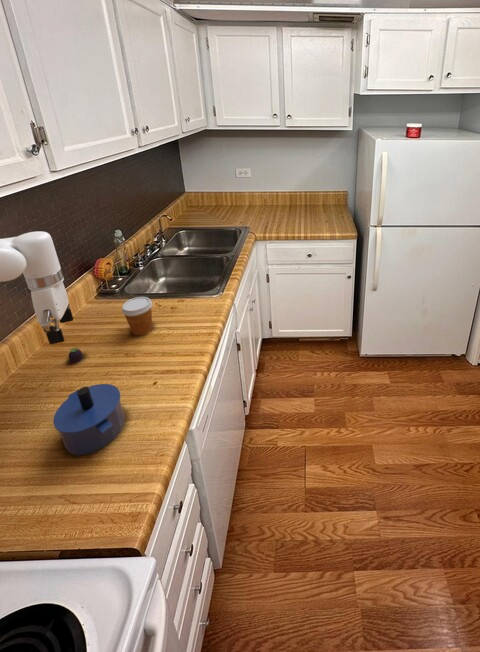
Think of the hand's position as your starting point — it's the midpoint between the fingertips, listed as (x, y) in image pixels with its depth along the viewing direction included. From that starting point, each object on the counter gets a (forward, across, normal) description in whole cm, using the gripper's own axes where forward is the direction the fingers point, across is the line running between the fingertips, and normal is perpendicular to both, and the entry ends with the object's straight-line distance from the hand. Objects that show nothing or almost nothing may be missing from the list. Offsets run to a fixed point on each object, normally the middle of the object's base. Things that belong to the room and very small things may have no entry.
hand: (62, 331), depth 93 cm
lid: (+9, +22, +8) cm, 25 cm away
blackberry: (+17, -8, -2) cm, 19 cm away
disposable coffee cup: (+17, -17, +17) cm, 29 cm away
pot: (+17, +22, +8) cm, 29 cm away
